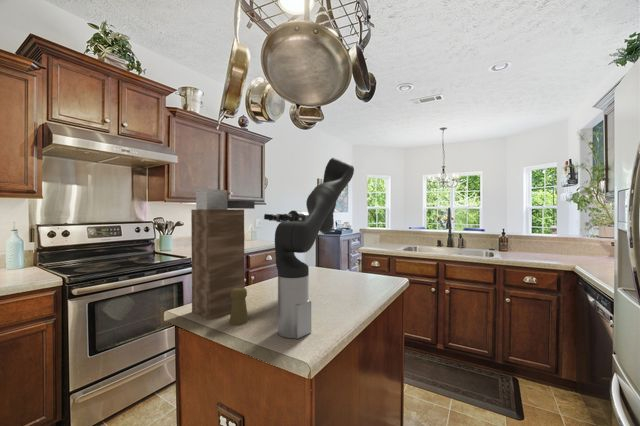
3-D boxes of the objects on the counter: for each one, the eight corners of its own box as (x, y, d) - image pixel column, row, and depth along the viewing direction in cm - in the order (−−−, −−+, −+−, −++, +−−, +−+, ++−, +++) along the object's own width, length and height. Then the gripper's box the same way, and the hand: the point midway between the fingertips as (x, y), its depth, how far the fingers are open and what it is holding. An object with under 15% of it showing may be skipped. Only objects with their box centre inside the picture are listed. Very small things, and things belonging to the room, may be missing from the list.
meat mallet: (257, 209, 118) (257, 192, 118) (207, 209, 101) (206, 188, 100) (246, 209, 122) (246, 192, 122) (196, 209, 105) (196, 189, 105)
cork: (243, 325, 94) (243, 291, 94) (225, 324, 95) (225, 290, 95) (251, 318, 100) (251, 286, 99) (235, 317, 101) (234, 285, 101)
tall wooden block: (244, 308, 110) (244, 209, 110) (210, 319, 99) (209, 209, 99) (225, 302, 117) (225, 209, 117) (191, 311, 106) (191, 209, 106)
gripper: (288, 211, 133) (260, 207, 121) (312, 211, 124) (285, 207, 112) (287, 227, 133) (259, 225, 120) (311, 229, 124) (283, 227, 111)
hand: (271, 216), depth 116 cm, fingers open, 8 cm apart
